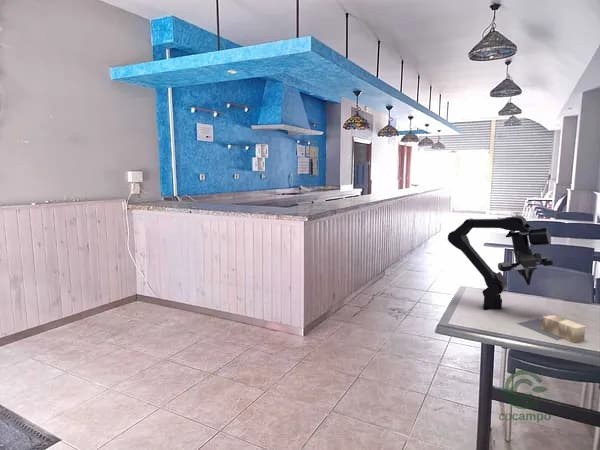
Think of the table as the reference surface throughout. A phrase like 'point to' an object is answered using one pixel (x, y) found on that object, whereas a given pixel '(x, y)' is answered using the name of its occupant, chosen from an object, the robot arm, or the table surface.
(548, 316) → the maple block
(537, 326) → the rubber mat
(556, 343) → the table surface
